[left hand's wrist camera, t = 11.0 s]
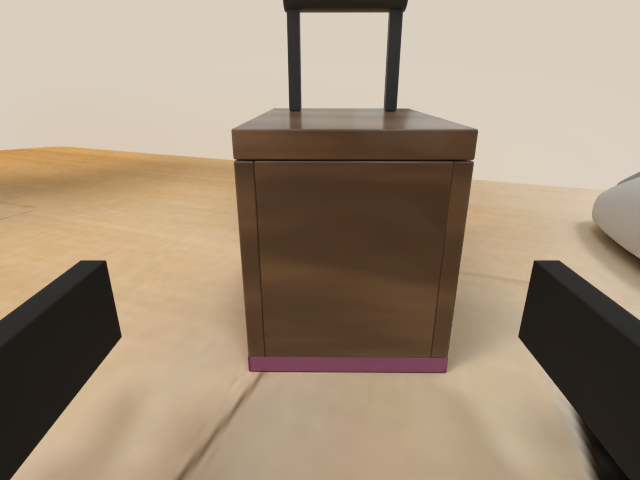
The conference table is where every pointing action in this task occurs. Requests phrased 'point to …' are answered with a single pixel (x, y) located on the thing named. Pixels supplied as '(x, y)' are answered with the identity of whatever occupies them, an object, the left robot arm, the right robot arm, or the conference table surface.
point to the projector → (621, 213)
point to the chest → (350, 262)
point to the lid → (350, 111)
